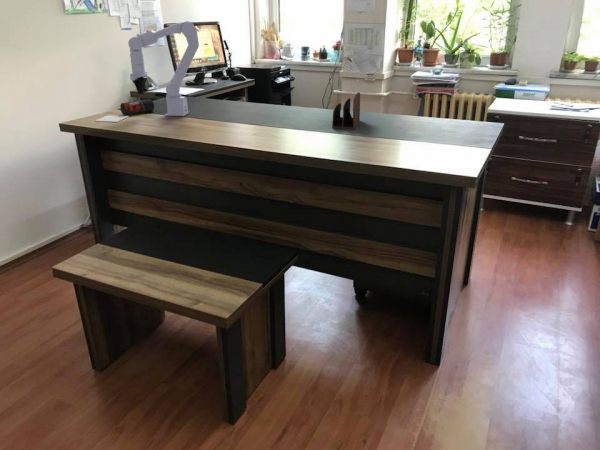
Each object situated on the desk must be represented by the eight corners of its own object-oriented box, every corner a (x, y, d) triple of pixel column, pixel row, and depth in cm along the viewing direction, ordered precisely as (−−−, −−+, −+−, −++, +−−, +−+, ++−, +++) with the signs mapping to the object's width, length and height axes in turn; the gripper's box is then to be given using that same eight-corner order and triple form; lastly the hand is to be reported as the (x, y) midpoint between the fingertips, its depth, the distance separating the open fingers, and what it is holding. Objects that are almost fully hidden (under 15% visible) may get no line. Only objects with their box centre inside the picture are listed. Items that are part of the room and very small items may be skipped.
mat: (128, 116, 239) (128, 116, 239) (117, 122, 228) (117, 121, 228) (107, 116, 240) (107, 115, 240) (94, 121, 229) (94, 120, 229)
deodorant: (124, 117, 243) (151, 113, 253) (127, 111, 238) (155, 107, 248) (119, 106, 243) (146, 103, 253) (122, 100, 239) (150, 97, 249)
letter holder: (359, 120, 235) (361, 90, 229) (354, 130, 217) (355, 97, 211) (338, 119, 237) (340, 89, 231) (331, 128, 219) (332, 96, 213)
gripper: (136, 62, 239) (139, 91, 244) (122, 65, 226) (126, 96, 231) (150, 62, 238) (153, 91, 244) (137, 66, 225) (140, 96, 230)
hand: (141, 93), depth 237 cm, fingers closed
